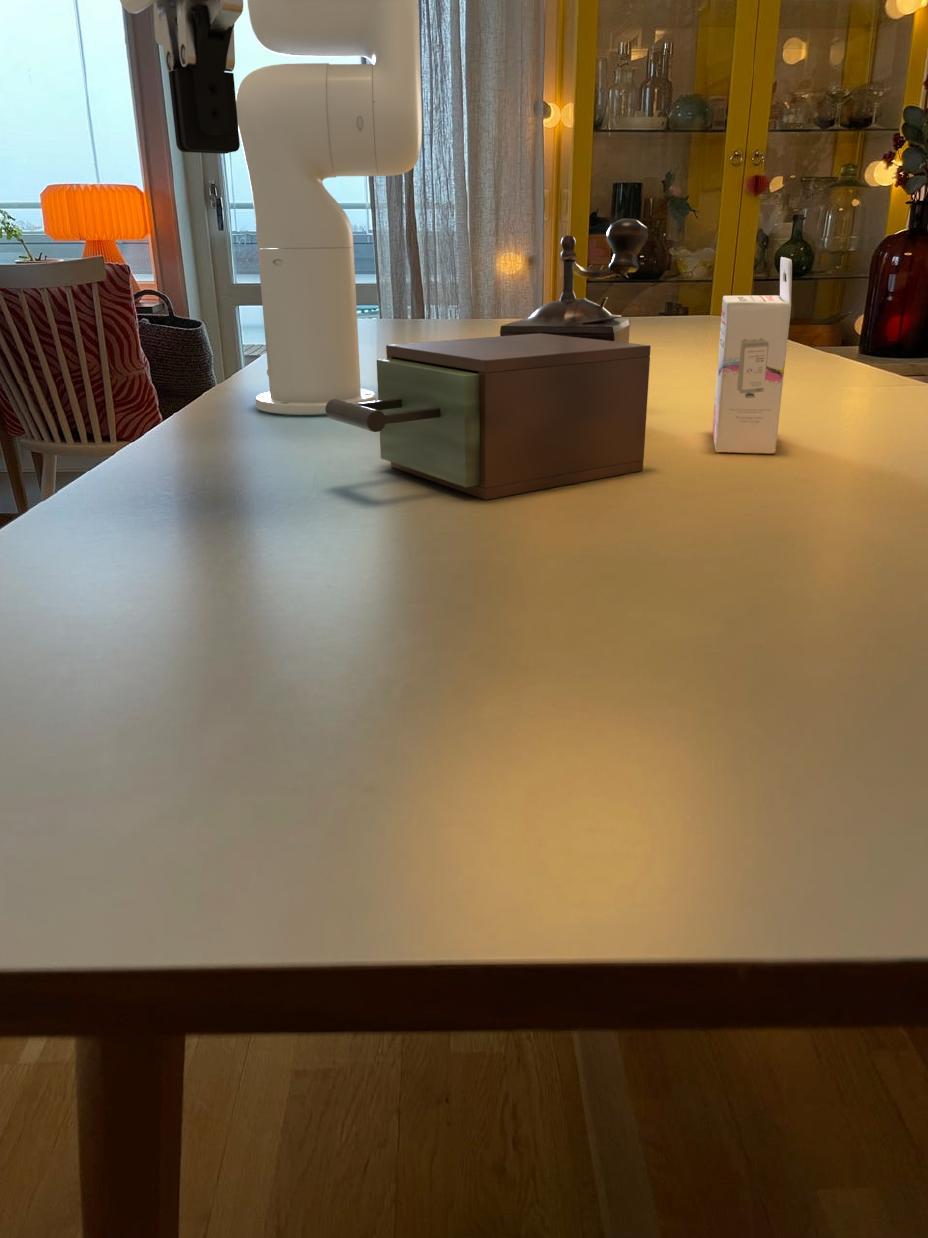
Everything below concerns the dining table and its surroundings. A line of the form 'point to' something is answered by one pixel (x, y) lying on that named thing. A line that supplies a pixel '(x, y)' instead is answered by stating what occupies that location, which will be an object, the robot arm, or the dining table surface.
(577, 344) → the cabinet
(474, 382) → the drawer
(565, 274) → the manual coffee grinder
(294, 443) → the dining table surface
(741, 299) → the ink cartridge box
